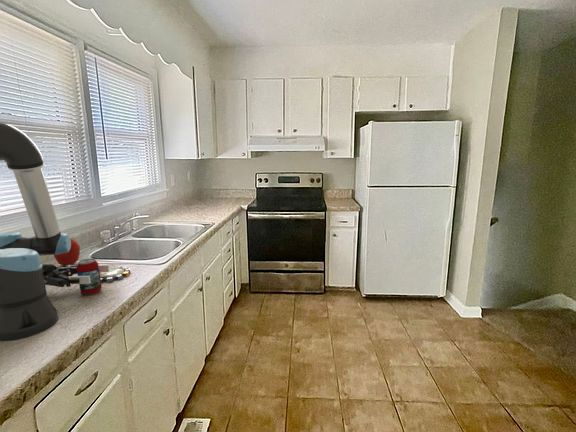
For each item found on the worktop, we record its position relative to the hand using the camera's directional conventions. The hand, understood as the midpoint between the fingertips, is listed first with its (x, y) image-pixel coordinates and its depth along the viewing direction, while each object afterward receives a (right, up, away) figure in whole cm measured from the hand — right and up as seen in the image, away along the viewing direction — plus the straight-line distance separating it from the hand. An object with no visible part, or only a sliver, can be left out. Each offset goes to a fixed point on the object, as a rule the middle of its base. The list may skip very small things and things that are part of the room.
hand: (99, 273), depth 117 cm
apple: (-33, -2, +32) cm, 46 cm away
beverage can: (-4, -7, +2) cm, 8 cm away
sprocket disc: (-5, -4, +17) cm, 18 cm away
